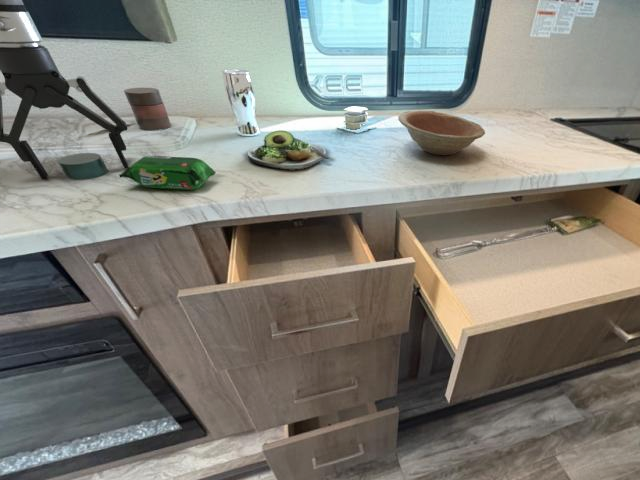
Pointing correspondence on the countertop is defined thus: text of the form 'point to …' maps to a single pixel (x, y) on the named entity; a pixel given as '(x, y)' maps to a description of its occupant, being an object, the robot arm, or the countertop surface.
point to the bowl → (440, 131)
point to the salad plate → (286, 152)
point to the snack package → (169, 172)
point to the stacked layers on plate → (355, 117)
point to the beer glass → (241, 100)
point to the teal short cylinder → (83, 165)
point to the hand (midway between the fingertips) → (87, 171)
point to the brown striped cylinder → (148, 108)
